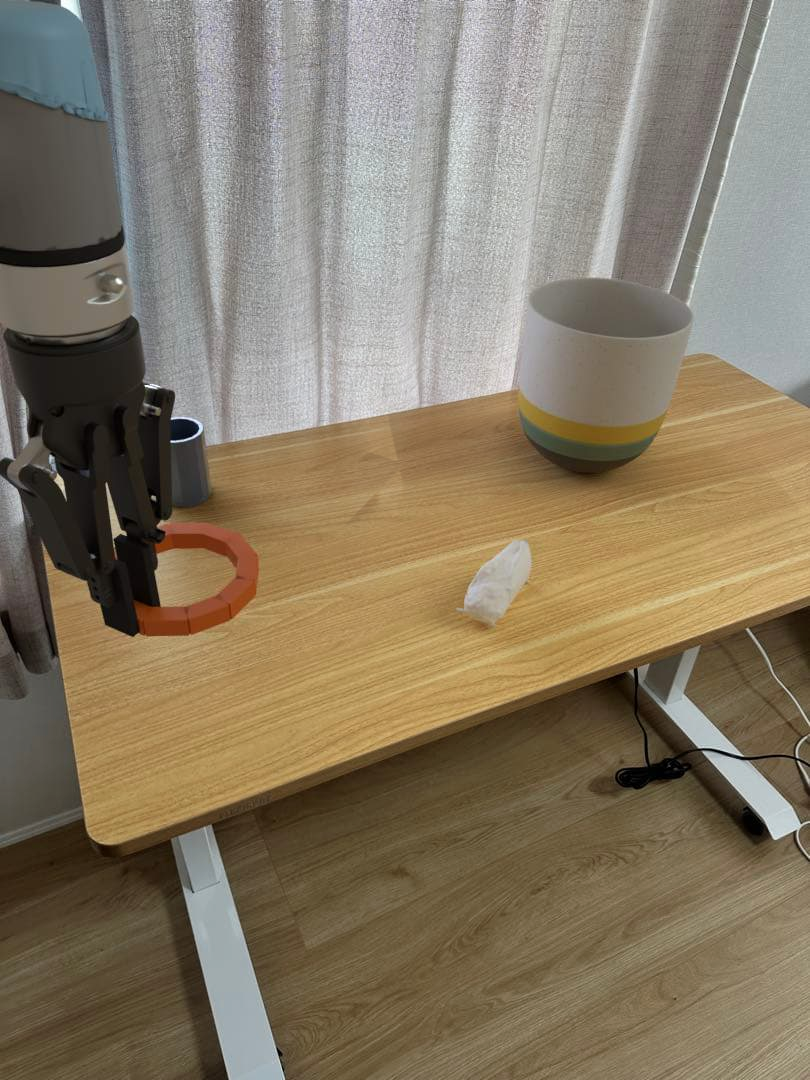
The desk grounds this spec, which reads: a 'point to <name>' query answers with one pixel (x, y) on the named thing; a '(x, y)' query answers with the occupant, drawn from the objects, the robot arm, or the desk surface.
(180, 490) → the cup
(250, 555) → the ring
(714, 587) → the desk surface
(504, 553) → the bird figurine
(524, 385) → the planter
